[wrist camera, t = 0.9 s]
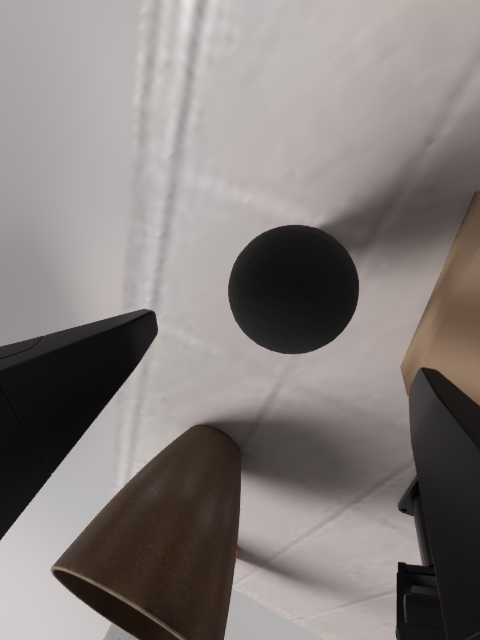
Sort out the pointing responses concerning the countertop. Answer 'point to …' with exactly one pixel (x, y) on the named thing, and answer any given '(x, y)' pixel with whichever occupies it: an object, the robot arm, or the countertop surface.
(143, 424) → the countertop surface
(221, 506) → the plant pot
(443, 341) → the walnut base
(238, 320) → the light bulb
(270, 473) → the countertop surface
